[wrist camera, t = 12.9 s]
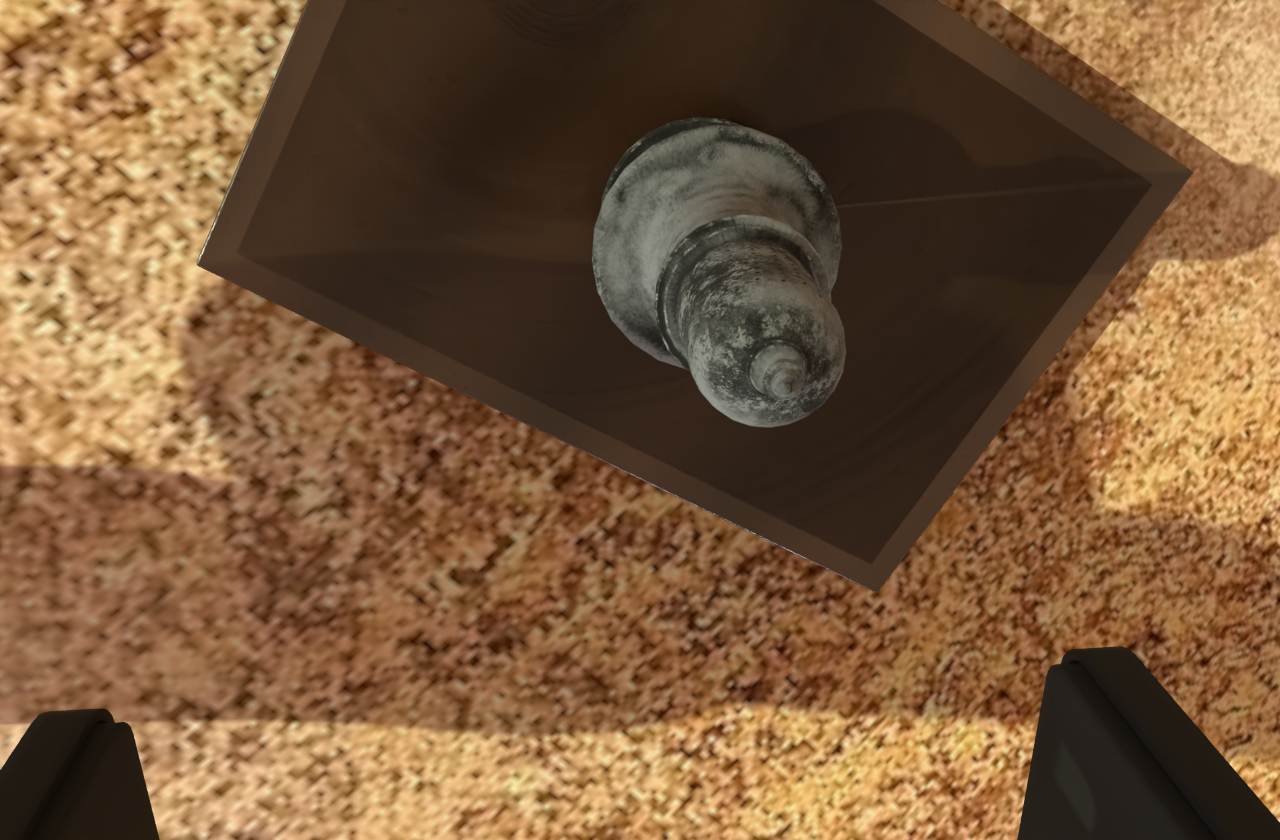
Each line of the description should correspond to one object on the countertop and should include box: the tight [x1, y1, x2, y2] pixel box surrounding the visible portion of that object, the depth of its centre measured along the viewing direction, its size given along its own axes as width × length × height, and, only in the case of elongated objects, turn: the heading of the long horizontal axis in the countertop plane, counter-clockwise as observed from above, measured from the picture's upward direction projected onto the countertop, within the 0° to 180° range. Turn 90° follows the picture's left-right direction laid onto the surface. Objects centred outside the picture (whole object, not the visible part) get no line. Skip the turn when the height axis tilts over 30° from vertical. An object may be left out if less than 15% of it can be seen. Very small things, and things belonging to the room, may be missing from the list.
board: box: [197, 0, 1193, 593], centre depth 29 cm, size 22×15×2 cm
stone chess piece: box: [592, 117, 846, 427], centre depth 22 cm, size 6×6×12 cm
